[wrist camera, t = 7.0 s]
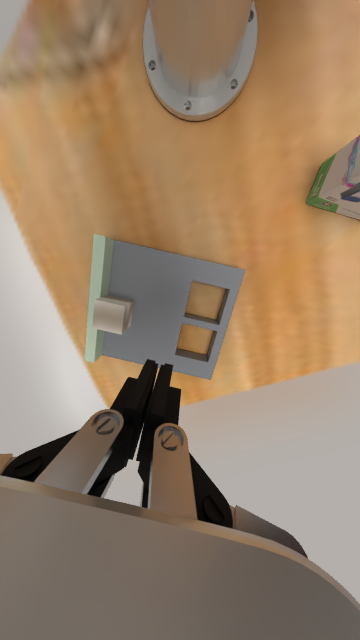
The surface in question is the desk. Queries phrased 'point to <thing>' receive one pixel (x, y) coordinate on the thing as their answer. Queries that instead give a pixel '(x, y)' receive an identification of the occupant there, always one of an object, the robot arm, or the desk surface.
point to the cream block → (112, 314)
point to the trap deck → (156, 304)
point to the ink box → (339, 182)
